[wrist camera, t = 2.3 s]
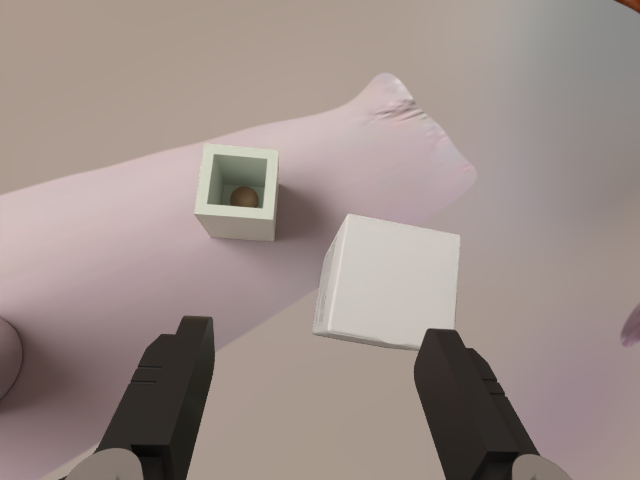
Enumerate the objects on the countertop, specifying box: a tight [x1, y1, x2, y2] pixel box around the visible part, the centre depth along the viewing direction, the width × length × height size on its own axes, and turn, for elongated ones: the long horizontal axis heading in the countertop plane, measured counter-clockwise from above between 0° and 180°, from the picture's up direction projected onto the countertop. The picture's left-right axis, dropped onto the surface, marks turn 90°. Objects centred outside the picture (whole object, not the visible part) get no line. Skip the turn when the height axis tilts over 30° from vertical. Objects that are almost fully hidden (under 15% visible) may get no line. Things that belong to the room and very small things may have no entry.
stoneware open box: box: [194, 143, 279, 242], centre depth 37 cm, size 7×7×8 cm
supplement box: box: [312, 213, 460, 351], centre depth 32 cm, size 9×9×15 cm
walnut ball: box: [230, 186, 259, 208], centre depth 38 cm, size 3×3×3 cm
